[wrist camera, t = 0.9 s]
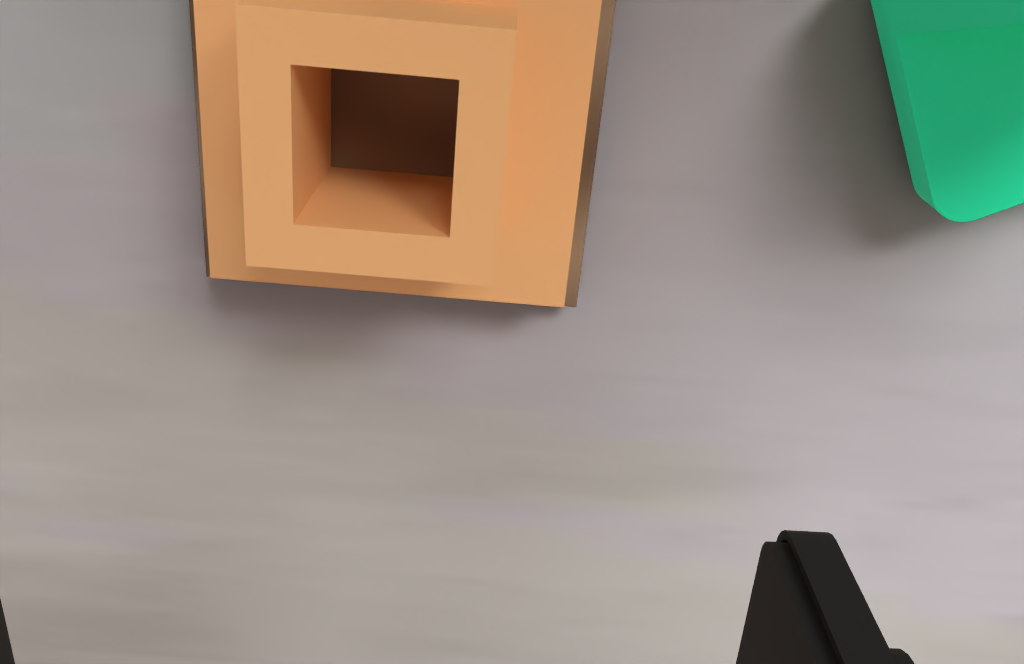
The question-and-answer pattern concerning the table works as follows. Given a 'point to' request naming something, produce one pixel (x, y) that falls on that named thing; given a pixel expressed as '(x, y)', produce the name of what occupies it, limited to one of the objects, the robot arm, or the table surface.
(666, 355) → the table surface
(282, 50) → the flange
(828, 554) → the robot arm
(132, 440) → the table surface
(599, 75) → the board
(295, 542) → the table surface
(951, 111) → the camera mount
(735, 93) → the table surface
